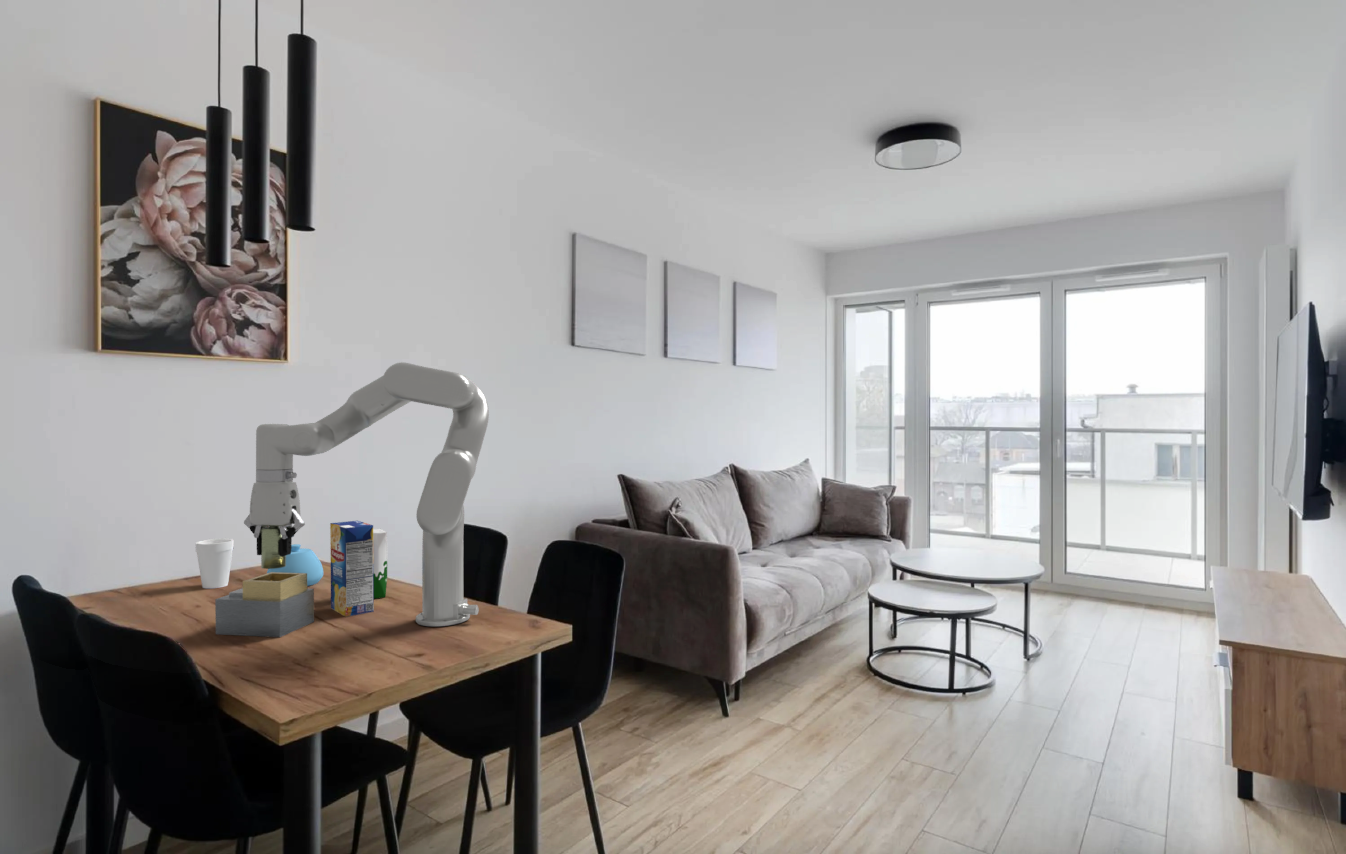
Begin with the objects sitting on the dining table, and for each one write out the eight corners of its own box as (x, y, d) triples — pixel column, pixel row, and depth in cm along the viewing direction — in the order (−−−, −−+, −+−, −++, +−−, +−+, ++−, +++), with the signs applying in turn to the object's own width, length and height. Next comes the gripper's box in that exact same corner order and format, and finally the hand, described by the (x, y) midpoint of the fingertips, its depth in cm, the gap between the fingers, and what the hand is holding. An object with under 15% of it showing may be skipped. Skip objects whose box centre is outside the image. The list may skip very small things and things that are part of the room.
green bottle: (290, 564, 168) (290, 520, 168) (276, 569, 163) (276, 523, 163) (271, 563, 169) (271, 519, 168) (256, 568, 164) (256, 522, 163)
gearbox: (314, 621, 171) (313, 572, 171) (280, 637, 160) (279, 584, 159) (253, 619, 174) (253, 570, 173) (215, 634, 162) (215, 581, 161)
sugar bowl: (261, 591, 200) (261, 551, 200) (270, 580, 214) (270, 541, 214) (320, 587, 206) (320, 547, 206) (325, 576, 220) (325, 538, 220)
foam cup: (207, 582, 211) (206, 538, 211) (240, 581, 212) (239, 538, 212) (189, 590, 202) (188, 544, 201) (223, 589, 203) (223, 544, 202)
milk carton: (348, 595, 196) (348, 523, 196) (383, 590, 201) (382, 520, 201) (354, 602, 189) (354, 527, 189) (390, 597, 194) (390, 524, 194)
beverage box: (345, 616, 176) (345, 528, 175) (330, 608, 184) (330, 523, 183) (373, 611, 180) (373, 525, 180) (358, 603, 188) (357, 520, 188)
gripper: (318, 476, 168) (317, 553, 168) (252, 474, 170) (252, 550, 171) (297, 479, 161) (297, 559, 161) (229, 477, 163) (228, 556, 163)
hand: (274, 553), depth 166 cm, fingers closed on green bottle, 5 cm apart
